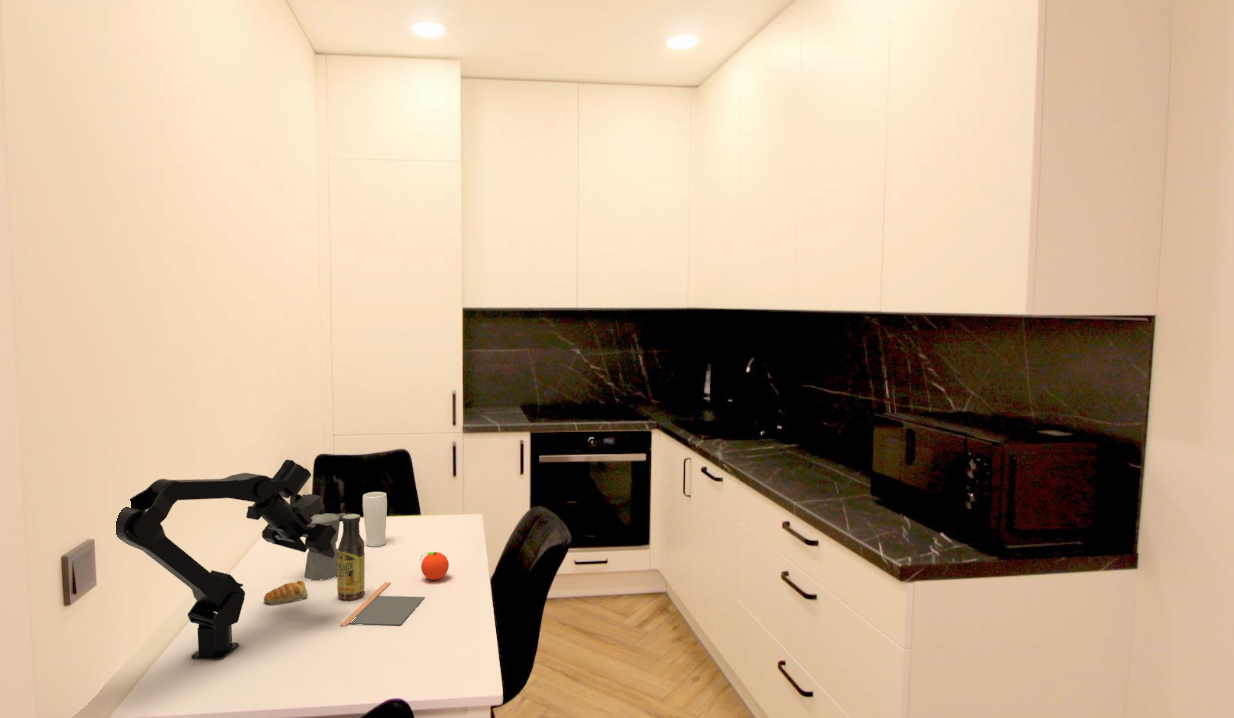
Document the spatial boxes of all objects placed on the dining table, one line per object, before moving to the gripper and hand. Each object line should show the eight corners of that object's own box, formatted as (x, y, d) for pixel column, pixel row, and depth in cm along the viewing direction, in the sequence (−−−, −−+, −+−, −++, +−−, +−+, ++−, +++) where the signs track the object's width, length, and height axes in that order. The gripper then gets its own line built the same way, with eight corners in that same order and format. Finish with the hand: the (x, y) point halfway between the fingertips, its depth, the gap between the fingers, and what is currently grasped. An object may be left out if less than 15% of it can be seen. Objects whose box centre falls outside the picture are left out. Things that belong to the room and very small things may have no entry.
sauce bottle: (331, 598, 183) (329, 517, 182) (352, 589, 189) (349, 510, 187) (351, 603, 180) (349, 520, 179) (371, 594, 186) (369, 514, 184)
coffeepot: (297, 584, 193) (294, 514, 191) (295, 573, 201) (292, 505, 200) (361, 574, 199) (359, 507, 198) (356, 564, 208) (354, 499, 207)
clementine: (412, 582, 194) (411, 554, 193) (426, 573, 201) (426, 546, 200) (440, 585, 192) (439, 557, 191) (454, 575, 198) (453, 549, 198)
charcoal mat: (400, 625, 167) (400, 624, 167) (349, 624, 168) (349, 623, 168) (424, 598, 183) (424, 596, 183) (377, 597, 184) (377, 595, 184)
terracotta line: (346, 626, 167) (346, 624, 167) (340, 626, 167) (340, 624, 167) (390, 583, 193) (390, 582, 193) (385, 583, 193) (384, 582, 193)
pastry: (268, 609, 178) (267, 592, 177) (260, 600, 183) (259, 585, 182) (309, 599, 183) (309, 583, 183) (300, 591, 189) (300, 576, 188)
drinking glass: (362, 543, 227) (361, 493, 226) (386, 540, 229) (384, 490, 228) (365, 549, 220) (363, 498, 219) (389, 546, 223) (388, 495, 222)
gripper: (330, 489, 168) (367, 529, 178) (274, 480, 177) (312, 519, 186) (299, 531, 161) (340, 571, 171) (242, 520, 170) (284, 558, 180)
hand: (319, 553), depth 177 cm, fingers open, 9 cm apart
